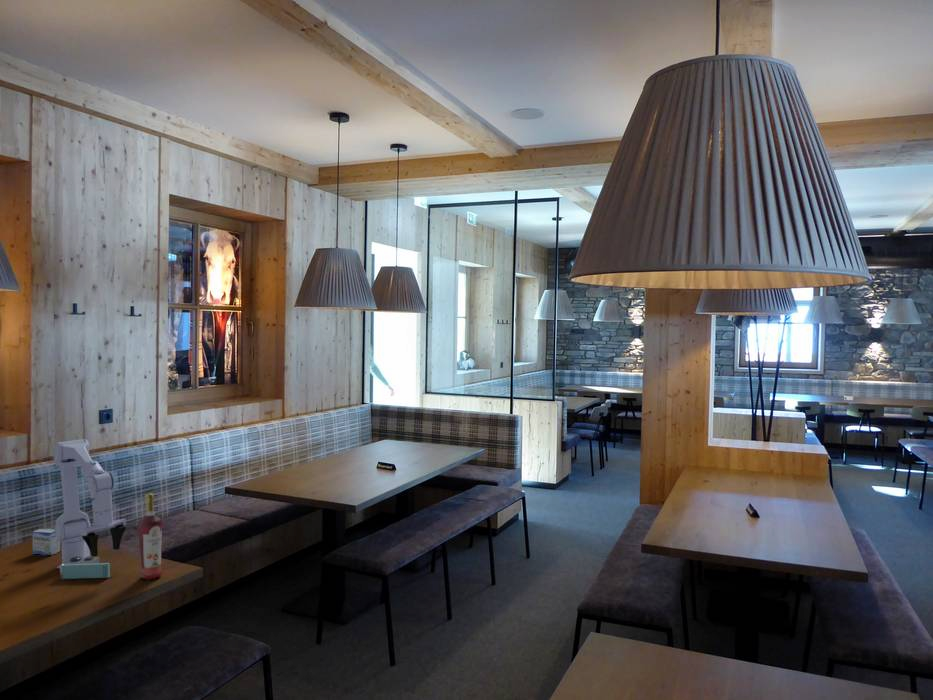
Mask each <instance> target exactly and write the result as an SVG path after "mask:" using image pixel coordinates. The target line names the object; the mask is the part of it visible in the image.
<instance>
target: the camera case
mask: <svg viewBox="0 0 933 700" xmlns="http://www.w3.org/2000/svg"><path fill="white" fill-rule="evenodd" d="M100 560H101V559H100V556H92V555H90V557H83V558H81V557H73V558H71V559H70V560H68V561H67V562H66V563H64V564H94V563H101V562H100Z"/></svg>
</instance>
